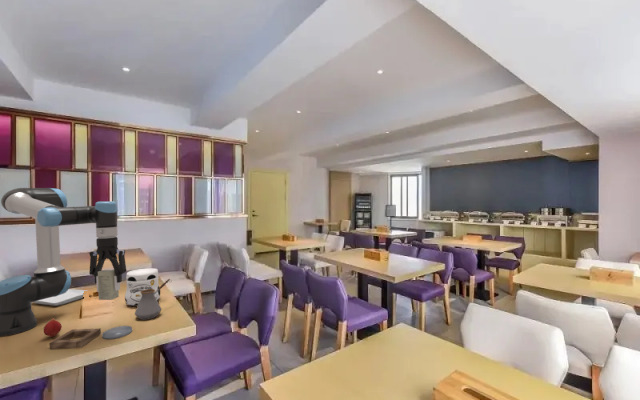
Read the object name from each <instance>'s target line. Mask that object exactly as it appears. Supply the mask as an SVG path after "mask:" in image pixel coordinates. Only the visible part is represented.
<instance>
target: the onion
mask: <svg viewBox="0 0 640 400" xmlns="http://www.w3.org/2000/svg"><path fill="white" fill-rule="evenodd" d="M62 327H63V326H62V324H61V322H59V321H58V320H56V319H55V318H52V319H50V320H49V321H48V322H47V323H46V324H45V325H44V328H43V334H44V335H46V336H47V337H50V338H55V337H56V336H57V335H58V334H59V333H60V332H61V330H62Z"/></svg>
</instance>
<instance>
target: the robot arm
mask: <svg viewBox="0 0 640 400" xmlns="http://www.w3.org/2000/svg"><path fill="white" fill-rule="evenodd" d="M0 204H1V206H2V208H3V209H4V210H5V211H7V212H9V213H11V214H17V215H21V214H22V215H25V216H27V217H30V218H33V219H34V220H35V238H36V239H35V241H36V257H37V259H36V260H37V262H36V263H37V268H36V269H35V270H34V271H33V276H31V275H29V274H22V275H15V276H11V277H9V278H5V279H2V280H0V337H6V336H5V335H7V336H12V335H17V334H20V333H23V332H26V331H29V330H31V329H33V328H35V327H36V326H38V319H37V317H36V316H35V314H34V311H33V310H32V304H33V302H34V301H38V300H42V299H46V298H50V297H56V296H58V295H61V294H64V293H66V292H67V291H68V289H71V288H70V287H71V285H72V276H71V273H70V271H68V270H66V268H65V267H64V266H62V265H61V262H62V261H61V246H60V227H62V226H71V225H85V224H95V231H96V232H95V235H96V236H95V237H96V240H95V241H96V242H95V244H96V250H93V251H90V252H89V257H90V258H89V259H90V261H89V273H88V274H89V275H90V276H94V283H95V284H96V292H97V293H98V272H99V271H102V270H103V267H104V264H105V261H106V260H109V262H110V263H111V265H112V268H113V270H114V271H115V273H116V275H115V276H114V287H115V291H117V290H119V291H120V290H121V283H122V281H123V280H122V279H123V278H122V277H123V274H125V273H127V265H126V257H125V253H126V250H125V249H119V248H118V245H119V242H118V241H119V240H118V237H117V236H118V234H119V233H118V208H117V202H116V201H97V202H95V205H94V206H93V205H85V206H68V199H67V196H66V194H65V193H64V191H62V190H61V189H59V188H51V187H19V188H14V189H11V190H8V191H7V192H6V193H4V195H2V197H1V198H0ZM98 256H99V257H98Z"/></svg>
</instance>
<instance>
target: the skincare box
mask: <svg viewBox="0 0 640 400" xmlns="http://www.w3.org/2000/svg"><path fill="white" fill-rule="evenodd" d="M115 275H116V273H115V271H114V269H102V270H101V271H99V272H98V292H97V293H98V300H99V301H112V300H115V299H117V298H119V297H120V296H119V293H120V292H119V291H120V289H119V290H117V291H115V287H114V276H115Z"/></svg>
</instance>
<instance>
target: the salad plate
mask: <svg viewBox="0 0 640 400" xmlns="http://www.w3.org/2000/svg"><path fill="white" fill-rule="evenodd" d="M84 291H87V290H85V289H73V288H69V289H68V291H67V292H66V293H64V294H61V295H58V296H56V297H50V298H46V299H42V300H38V301H34V302H32V304H33V303H34V304H37V305H38V304H39V305H47V306H54V307H55V306H56V307H58V306H62V305H66V304H69V303H71V302H75V301H79V300H81V299H83V298H82V297H83V295H84V294H83V293H84Z"/></svg>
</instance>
